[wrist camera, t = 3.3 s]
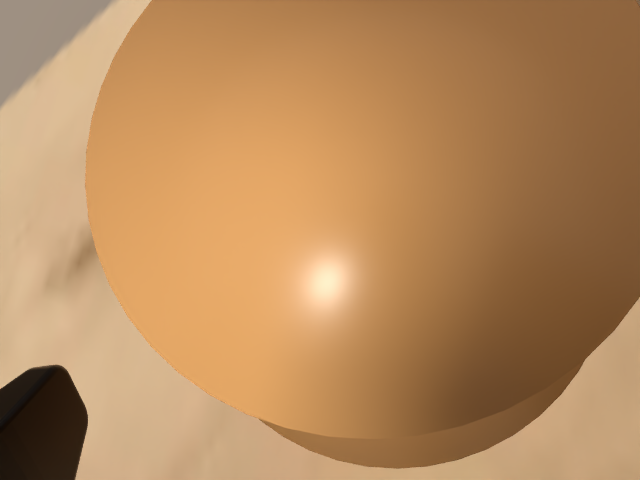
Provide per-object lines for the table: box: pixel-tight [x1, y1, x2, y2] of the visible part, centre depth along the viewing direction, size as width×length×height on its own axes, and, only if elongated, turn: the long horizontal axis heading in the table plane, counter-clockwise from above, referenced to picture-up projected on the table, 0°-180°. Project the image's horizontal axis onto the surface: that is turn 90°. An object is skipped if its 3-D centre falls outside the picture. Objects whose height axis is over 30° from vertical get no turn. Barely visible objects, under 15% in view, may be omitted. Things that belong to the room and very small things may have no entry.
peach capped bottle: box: [85, 0, 640, 468], centre depth 10 cm, size 5×5×13 cm
